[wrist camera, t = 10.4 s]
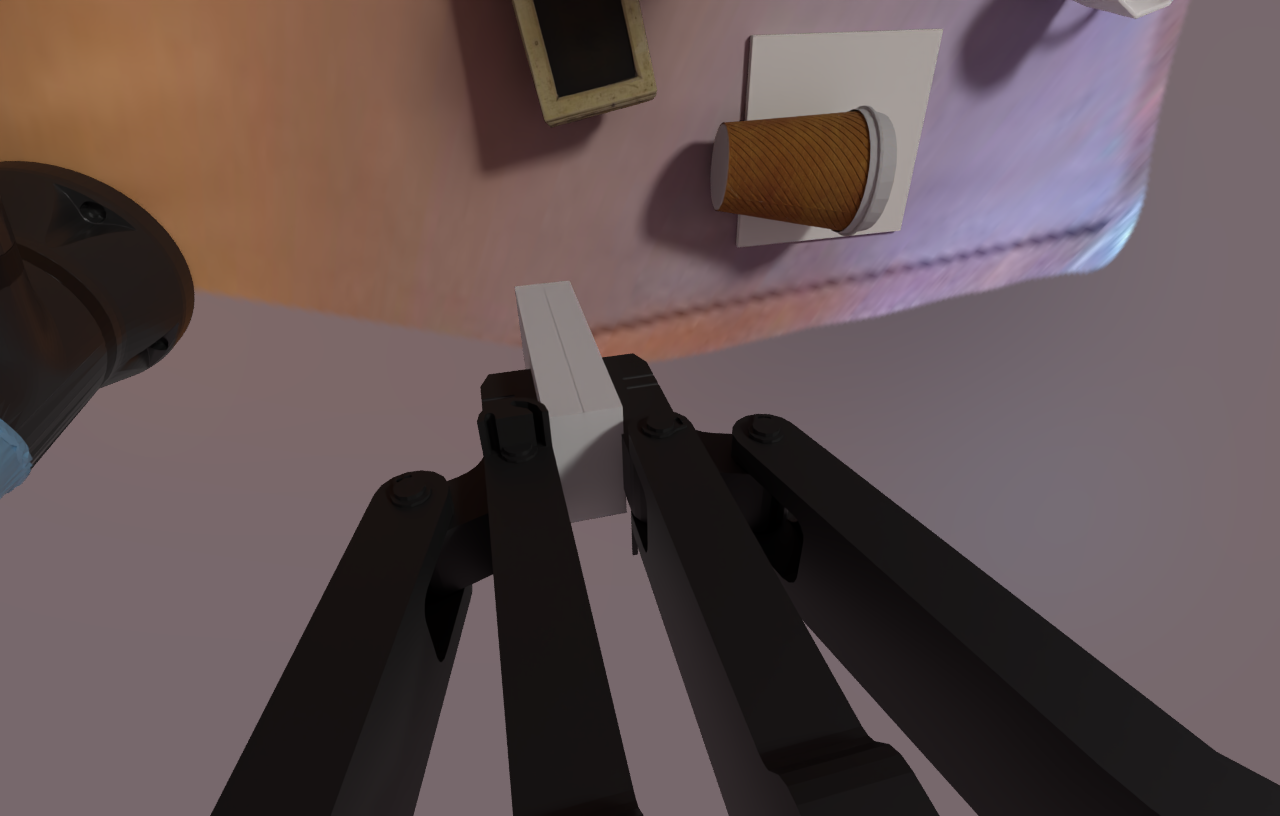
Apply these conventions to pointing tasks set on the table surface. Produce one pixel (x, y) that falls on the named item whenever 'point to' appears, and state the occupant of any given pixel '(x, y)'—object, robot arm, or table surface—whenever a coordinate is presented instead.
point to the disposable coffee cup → (807, 169)
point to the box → (585, 56)
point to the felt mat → (842, 102)
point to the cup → (1126, 6)
